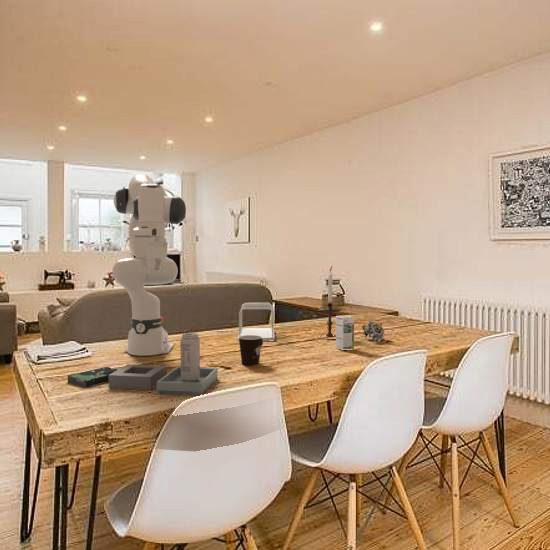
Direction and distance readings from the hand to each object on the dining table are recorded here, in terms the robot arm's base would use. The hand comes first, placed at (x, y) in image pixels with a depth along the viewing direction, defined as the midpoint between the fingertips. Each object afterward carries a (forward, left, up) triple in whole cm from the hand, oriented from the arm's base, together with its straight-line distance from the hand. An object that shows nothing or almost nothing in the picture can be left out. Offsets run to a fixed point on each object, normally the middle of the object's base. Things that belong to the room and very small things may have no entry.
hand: (152, 271), depth 165 cm
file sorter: (-72, +23, -36) cm, 84 cm away
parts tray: (+13, +17, -35) cm, 41 cm away
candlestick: (-73, +59, -35) cm, 100 cm away
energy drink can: (+11, +17, -34) cm, 40 cm away
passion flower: (-70, +79, -35) cm, 111 cm away
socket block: (+12, 0, -35) cm, 37 cm away
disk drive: (+11, -15, -36) cm, 40 cm away
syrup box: (-49, +66, -35) cm, 89 cm away
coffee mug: (-19, +32, -35) cm, 51 cm away
